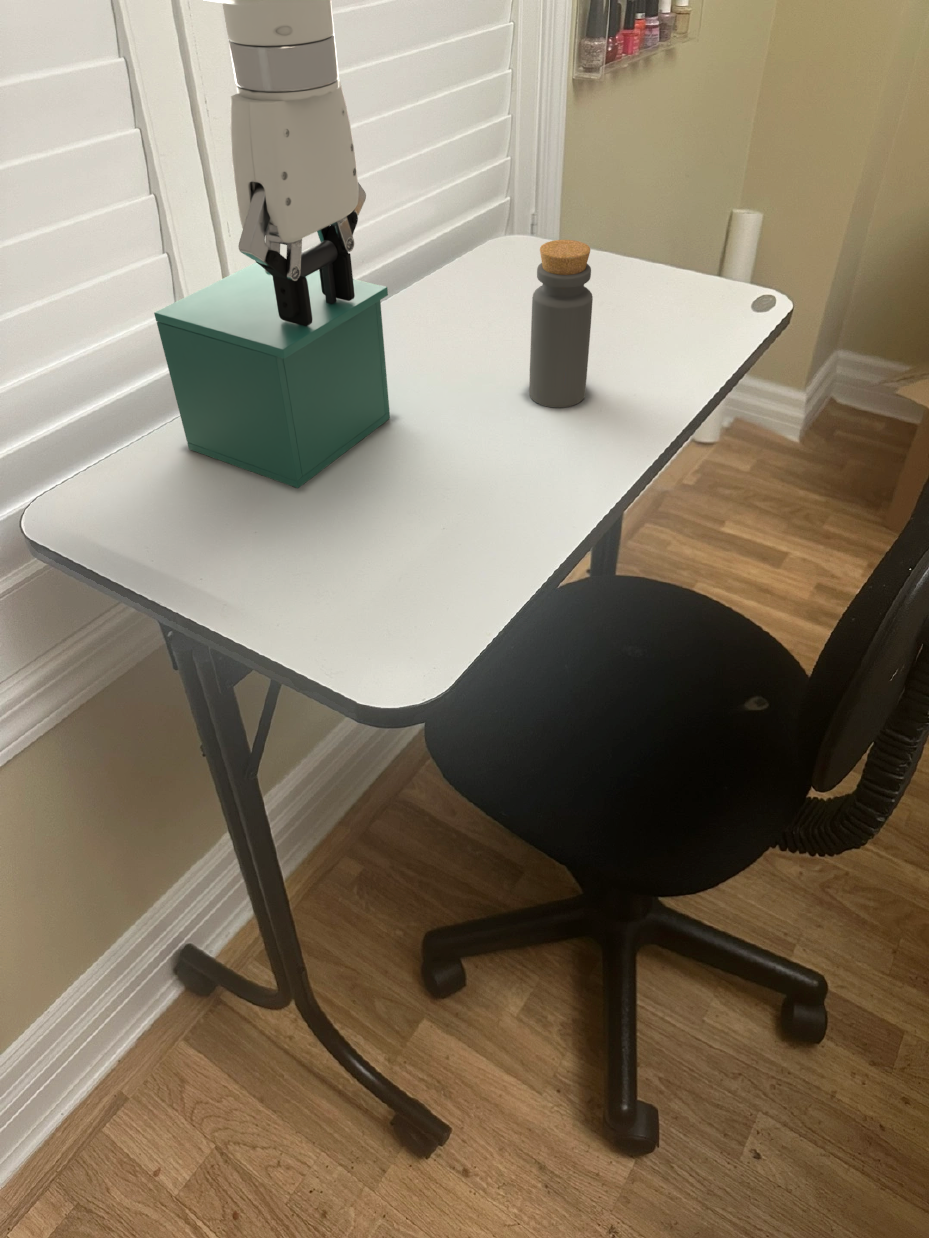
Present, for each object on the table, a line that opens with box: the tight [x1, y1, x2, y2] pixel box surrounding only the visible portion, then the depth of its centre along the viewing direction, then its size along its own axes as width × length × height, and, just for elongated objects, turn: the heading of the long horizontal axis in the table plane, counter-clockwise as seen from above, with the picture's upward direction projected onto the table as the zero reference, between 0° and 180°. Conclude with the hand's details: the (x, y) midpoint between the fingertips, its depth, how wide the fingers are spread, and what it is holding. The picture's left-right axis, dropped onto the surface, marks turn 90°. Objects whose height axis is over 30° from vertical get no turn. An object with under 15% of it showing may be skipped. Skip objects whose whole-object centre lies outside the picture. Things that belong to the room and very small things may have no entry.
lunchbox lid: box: [153, 240, 389, 358], centre depth 79 cm, size 14×15×6 cm
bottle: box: [528, 239, 594, 408], centre depth 89 cm, size 6×6×15 cm
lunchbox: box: [156, 300, 391, 489], centre depth 85 cm, size 14×15×13 cm
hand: (317, 307), depth 78 cm, fingers closed on lunchbox lid, 5 cm apart
